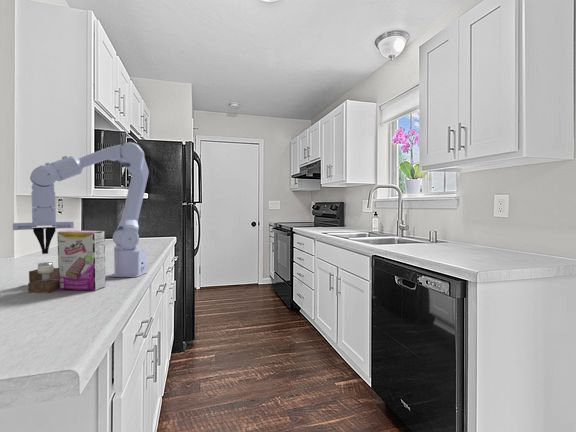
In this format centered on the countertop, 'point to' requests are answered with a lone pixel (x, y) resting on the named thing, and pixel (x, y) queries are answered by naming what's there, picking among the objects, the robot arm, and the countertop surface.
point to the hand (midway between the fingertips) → (45, 253)
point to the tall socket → (36, 276)
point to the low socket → (43, 286)
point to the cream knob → (45, 272)
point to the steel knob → (45, 264)
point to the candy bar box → (81, 260)
